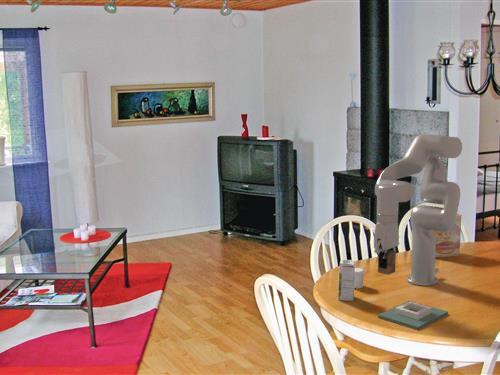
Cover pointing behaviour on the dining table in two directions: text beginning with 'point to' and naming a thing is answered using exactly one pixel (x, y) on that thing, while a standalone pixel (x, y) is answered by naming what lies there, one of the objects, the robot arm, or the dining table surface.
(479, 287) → the dining table surface
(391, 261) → the grey metal plug
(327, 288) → the dining table surface
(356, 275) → the white grey cup
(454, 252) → the coffeecake box
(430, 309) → the socket board
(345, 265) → the syrup box
